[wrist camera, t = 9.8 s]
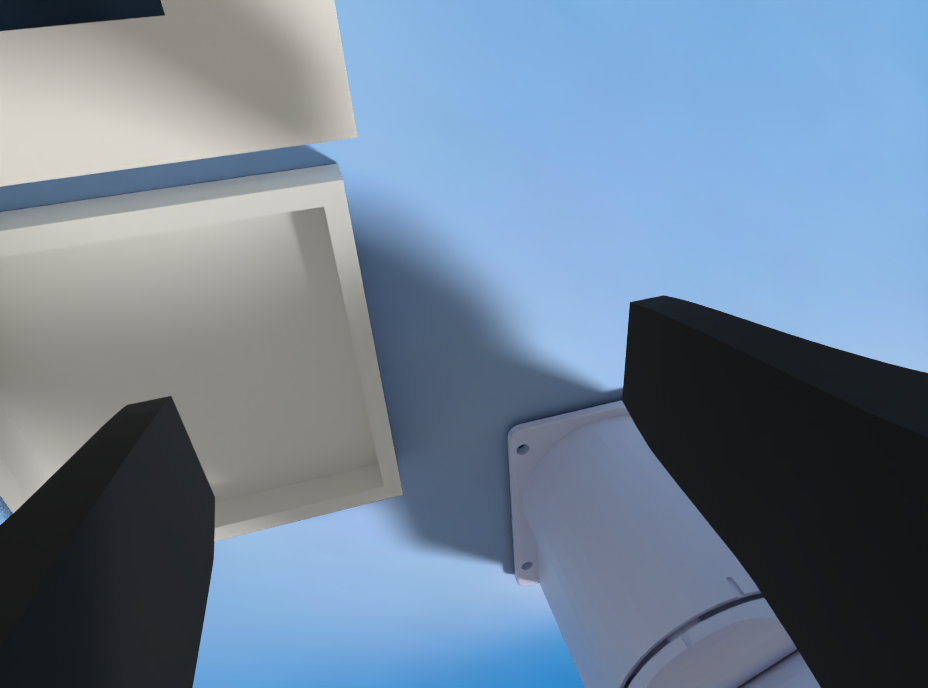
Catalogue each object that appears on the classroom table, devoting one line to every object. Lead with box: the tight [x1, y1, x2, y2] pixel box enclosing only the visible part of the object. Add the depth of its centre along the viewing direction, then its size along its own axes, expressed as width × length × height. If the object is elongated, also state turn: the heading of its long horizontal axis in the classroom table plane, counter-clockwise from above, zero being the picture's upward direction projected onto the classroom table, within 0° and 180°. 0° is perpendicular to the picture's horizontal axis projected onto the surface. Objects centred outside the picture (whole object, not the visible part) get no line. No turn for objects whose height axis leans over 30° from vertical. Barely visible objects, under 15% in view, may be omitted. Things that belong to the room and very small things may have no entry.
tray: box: [0, 163, 403, 542], centre depth 17 cm, size 11×11×2 cm
